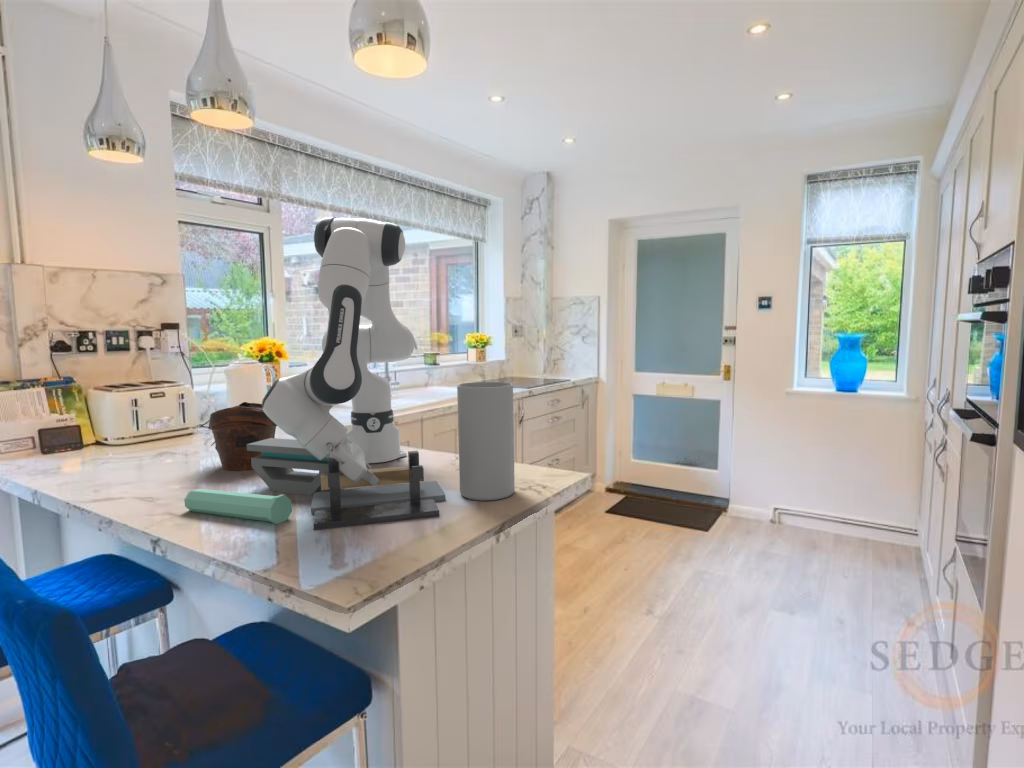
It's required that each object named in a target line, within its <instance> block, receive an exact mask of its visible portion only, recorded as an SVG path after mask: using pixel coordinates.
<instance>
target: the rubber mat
mask: <svg viewBox="0 0 1024 768" xmlns="http://www.w3.org/2000/svg"><path fill="white" fill-rule="evenodd" d="M340 495H341V508H349V507H359V506H369V505H379V504H388V503H398V502H408V501H410V494H409V483H398V484H387V485H376V486H365V487H355V488H344V489H340ZM428 499H433V500H434V501H435V502H440V501H446V493H445V491H444V490H443V489H442V487H441V486H440V484H439V482H438V481H437V480H433V481H420V500H428ZM329 509H331V508H330V490H322V491H320V492H314V494H313V495H312V500H311V505H310V515H315V511H320V510H329Z"/></svg>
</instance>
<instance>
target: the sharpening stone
mask: <svg viewBox="0 0 1024 768" xmlns="http://www.w3.org/2000/svg"><path fill="white" fill-rule="evenodd" d="M247 451H259V452H261V455H260V456H257V457H253V458H251V465H252V468H253V470H254V472H255V473H256V474H257V475H258V477H259V478H260V480H262V481H263V483H264V484H266V487H268V488H269V490H270V491H271V492H278V493H288V494H290V493H291V494H299V495H306V496H313V494H314V492H322V491H321V473H329V468H328V458H326V457H325V458H324V459H322V460H318V459H317V458H316V457H315V456H314V455H312V454H311V453H310V452H309V451H307V450H306V449H305V448H304V447H303V446H301V444H300V443H299V441H298V440H297V439H293V438H291V439H290V438H269V439H265V440H261V441H257V442H253V443H250V444H247ZM294 469H295V470H294ZM296 470H304V471H296ZM307 470H308V472H307ZM309 471H318V473H317V472H309ZM339 472H341V471H340V470H339Z"/></svg>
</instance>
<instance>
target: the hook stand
mask: <svg viewBox="0 0 1024 768" xmlns="http://www.w3.org/2000/svg"><path fill="white" fill-rule="evenodd" d="M419 453H420V452H419V451H418V450H409V451H407V459H408V461H407V462H408V463H407V464H408V465H407V466H409V483H408V484H409V494H410V501H408V502H398V503H388V504H379V505H369V506H359V507H349V508H341V495H340V490H341V489H340V474H339V462H338V461H337V460H336V459H335V458H328V468H329V473H328V487H329V488H330V490H329V491H330V508H331V509H329V510H320V511H315V514H314V517H313V531H317V530H325V529H335V528H342V527H343V528H344V527H353V526H354V527H355V526H363V525H372V524H380V523H389V522H390V523H391V522H399V521H408V520H417V519H425V518H434V517H440V509H439V507H438V505H437V503H436V501H434V500H433V499H428V500H420V482H421V481H420V479H423V468H424V466H423V465H422V464H420V454H419ZM419 465H420V466H419Z"/></svg>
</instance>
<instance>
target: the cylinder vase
mask: <svg viewBox="0 0 1024 768" xmlns="http://www.w3.org/2000/svg"><path fill="white" fill-rule="evenodd" d="M456 390H457V391H456V393H457V395H456V397H457V430H458V431H457V433H458V434H457V435H458V469H459V493H460V495H461V496H463V497H464V498H466V499H469V500H471V501H472V500H473V501H485V502H486V501H488V502H489V501H498V500H502V499H505V498H509V497H510V496H512V495H513V493H514V492H515V491H516V490H515V487H516V486H515V434H514V433H515V428H514V426H515V424H514V422H515V421H514V384H513V383H510V382H504V381H503V382H502V381H479V382H478V381H477V382H476V381H475V382H465V383H464V382H463V383H459V384H457V385H456Z"/></svg>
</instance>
